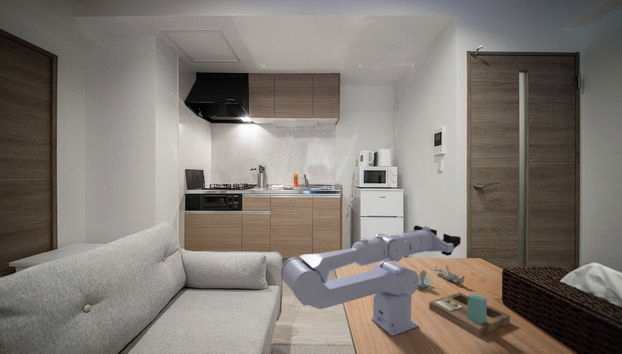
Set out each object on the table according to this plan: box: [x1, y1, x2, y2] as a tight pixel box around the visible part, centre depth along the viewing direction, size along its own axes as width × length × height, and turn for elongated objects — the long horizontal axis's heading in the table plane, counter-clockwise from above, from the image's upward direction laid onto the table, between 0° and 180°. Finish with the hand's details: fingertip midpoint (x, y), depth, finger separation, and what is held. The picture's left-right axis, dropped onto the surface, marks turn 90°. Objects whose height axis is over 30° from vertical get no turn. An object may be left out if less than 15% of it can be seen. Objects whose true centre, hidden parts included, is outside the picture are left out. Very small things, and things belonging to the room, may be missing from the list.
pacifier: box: [417, 269, 432, 289], centre depth 88 cm, size 7×6×6 cm
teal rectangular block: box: [467, 293, 488, 325], centre depth 64 cm, size 3×3×6 cm
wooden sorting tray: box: [428, 292, 511, 338], centre depth 70 cm, size 14×14×2 cm
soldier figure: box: [433, 264, 465, 284], centre depth 93 cm, size 8×5×12 cm
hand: (447, 236), depth 74 cm, fingers open, 7 cm apart
